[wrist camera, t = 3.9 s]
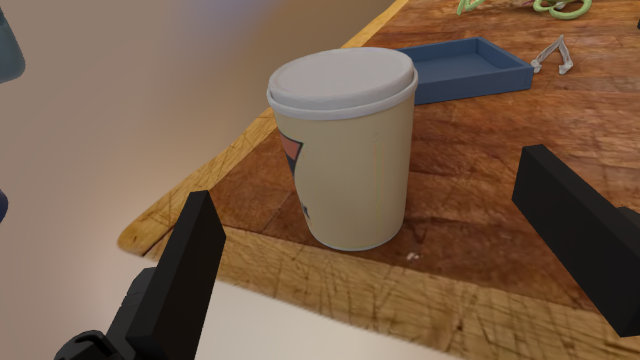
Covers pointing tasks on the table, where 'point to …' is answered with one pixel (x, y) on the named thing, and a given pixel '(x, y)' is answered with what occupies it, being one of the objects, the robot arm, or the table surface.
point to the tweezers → (550, 49)
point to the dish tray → (466, 70)
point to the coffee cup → (348, 140)
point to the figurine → (538, 7)
